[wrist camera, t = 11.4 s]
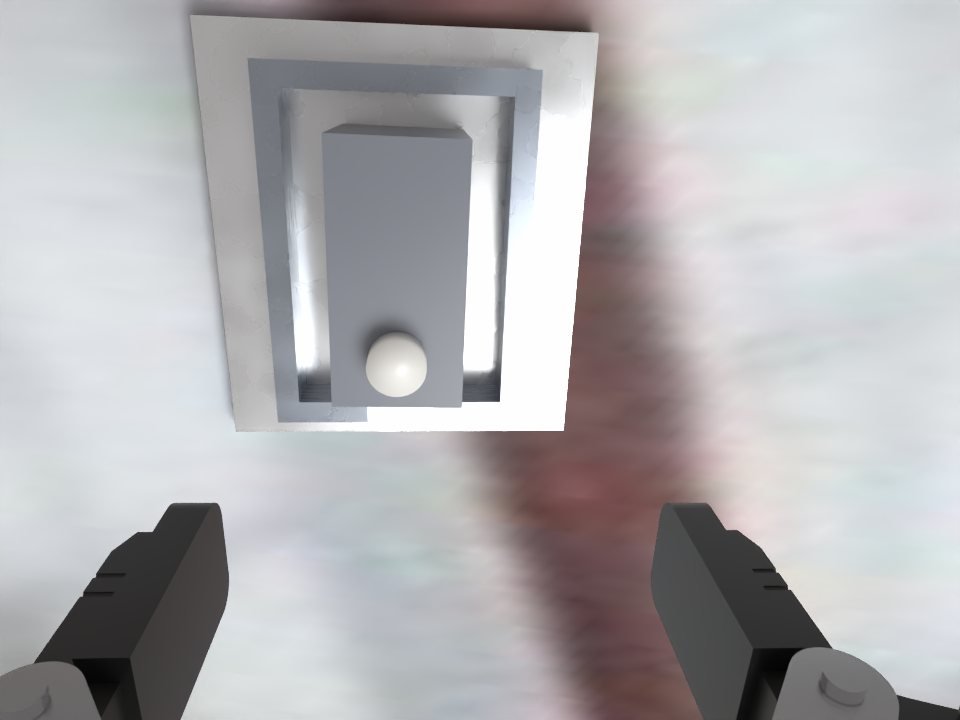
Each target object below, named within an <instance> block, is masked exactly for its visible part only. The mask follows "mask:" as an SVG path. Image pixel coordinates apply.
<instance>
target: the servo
mask: <svg viewBox="0 0 960 720" xmlns="http://www.w3.org/2000/svg"><path fill="white" fill-rule="evenodd" d="M472 143H473V139H472V138H471V137H470V136H469V135H468V134H467V133H466V132H465V130H464V129H447V128H425V127H402V126H380V125H357V124H341V125H338V126H336V127H334V128H332V129H329V130H327V131H325V132H322V159H323V186H324V212H325V238H326V265H327V291H328V318H329V344H330V371H331V397H332V407H419V408H462V391H463V367H464V342H465V317H466V292H467V267H468V243H469V218H470V193H471V168H472Z"/></svg>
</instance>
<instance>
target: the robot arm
mask: <svg viewBox="0 0 960 720" xmlns="http://www.w3.org/2000/svg"><path fill="white" fill-rule="evenodd" d="M228 589H229V572H228V564H227V555H226V547H225V539H224V530H223V522H222V514H221V509H220V507H219V505H218V504H217V503H173V504H171V505H170V506H169V507H168V509H167V510H166V512H165V513H164V515H163V516H162V518H161V520H160V521H159V523H158V524H157V526H156V527H155V529H154V531H153V532H137V533H136V534H134V535H133V536H132V537H130V538H129V539H128V540H126V541H125V542H124V543H122V544H121V545H120V546H118V547H117V548H116V549H114V550H113V551H112V552H111V553H110V555H109V556H108V557H107V559H106V560H105V562H104V563H103V565H102V566H101V567H100V569H99V570H98V572H97V573H96V578H93V579H92V580H91V582H90V583H89V585H88V586H87V588H86V589H85V590H84V592H83V597H80V598H79V599H78V600H77V602H76V603H75V605H74V606H73V608H72V609H71V610H70V612H69V613H68V615H67V616H66V618H65V619H64V621H63V622H62V623H61V625H60V626H59V628H58V629H57V631H56V632H55V633H54V635H53V636H52V638H51V639H50V641H49V642H48V643H47V645H46V646H45V648H44V649H43V651H42V652H41V653H40V655H39V656H38V658H37V659H36V661H35V662H34V664H31V665H27V666H24V667H21V668H18V669H16V670H13V671H11V672H9V673H7V674H5V675H3V676H1V677H0V720H181V717H182V715H183V712H184V710H185V707H186V705H187V702H188V700H189V697H190V695H191V692H192V690H193V687H194V685H195V682H196V680H197V677H198V675H199V672H200V670H201V667H202V665H203V662H204V660H205V657H206V655H207V652H208V650H209V647H210V645H211V643H212V640H213V638H214V635H215V633H216V630H217V628H218V625H219V623H220V620H221V618H222V615H223V613H224V610H225V606H226V602H227V597H228ZM651 589H652V596H653V600H654V604H655V607H656V609H657V612H658V614H659V616H660V619H661V621H662V623H663V626H664V628H665V630H666V633H667V635H668V637H669V640H670V642H671V645H672V647H673V649H674V652H675V654H676V656H677V659H678V661H679V663H680V666H681V668H682V670H683V673H684V675H685V677H686V680H687V682H688V684H689V687H690V689H691V691H692V694H693V696H694V698H695V701H696V703H697V705H698V708H699V710H700V712H701V715H702V717H703V719H704V720H960V707H959V710H956V709H952V708H948V707H944V706H939V705H935V704H931V703H927V702H922V701H918V700H914V699H910V698H906V697H902V696H899V695H896V693H895V691H894V689H893V688H892V686H891V685H890V684H889V682H888V681H887V680H886V679H885V678H884V677H883V676H882V675H881V674H880V673H879V672H878V671H877V670H875V669H874V668H873V667H871V666H870V665H868V664H867V663H865V662H864V661H862V660H860V659H858V658H856V657H854V656H852V655H850V654H847V653H845V652H842V651H839V650H835V649H833V648H832V647H831V646H830V644H829V643H828V641H827V640H826V639H825V637H824V636H823V634H822V633H821V632H820V630H819V629H818V627H817V626H816V625H815V623H814V622H813V620H812V619H811V618H810V616H809V615H808V613H807V612H806V611H805V609H804V608H803V606H802V605H801V604H800V602H799V601H798V599H797V598H796V596H795V595H794V594H793V592H792V591H791V590H788V585H787V584H786V582H785V581H784V580H783V578H782V577H781V575H780V574H779V573H776V568H775V567H774V566H773V564H772V563H771V561H770V560H769V559H768V557H767V556H766V554H765V553H764V552H763V550H762V549H761V548H760V547H759V546H758V545H756V544H755V543H754V542H752V541H751V540H750V539H748V538H747V537H746V536H744V535H743V534H742V533H740V532H739V531H738V530H726V529H725V528H724V526H723V525H722V523H721V522H720V520H719V519H718V517H717V516H716V514H715V513H714V511H713V510H712V508H711V507H710V506H709V505H708V504H707V503H666V504H664V506H663V508H662V510H661V514H660V520H659V527H658V533H657V539H656V545H655V551H654V558H653V564H652V571H651Z"/></svg>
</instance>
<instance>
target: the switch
mask: <svg viewBox="0 0 960 720" xmlns="http://www.w3.org/2000/svg"><path fill="white" fill-rule="evenodd" d="M190 22H191V31H192V40H193V49H194V58H195V67H196V76H197V85H198V94H199V103H200V112H201V121H202V131H203V140H204V149H205V158H206V167H207V176H208V185H209V194H210V203H211V212H212V221H213V230H214V239H215V248H216V257H217V266H218V275H219V284H220V293H221V302H222V312H223V321H224V330H225V339H226V348H227V357H228V366H229V375H230V384H231V393H232V402H233V411H234V420H235V429H236V432H256V431H506V430H563V428H564V416H565V405H566V394H567V383H568V372H569V361H570V350H571V338H572V327H573V316H574V305H575V294H576V283H577V272H578V260H579V249H580V238H581V227H582V216H583V205H584V193H585V182H586V171H587V160H588V149H589V138H590V127H591V115H592V104H593V93H594V82H595V71H596V60H597V49H598V37H599V33H587V32H565V31H542V30H520V29H498V28H475V27H453V26H430V25H408V24H386V23H363V22H341V21H318V20H296V19H273V18H251V17H229V16H206V15H190ZM341 124H357V125H380V126H402V127H425V128H447V129H464V130H465V132H466V133H467V134H468V135H469V136H470V137H471V138H472V139H473V143H472V168H471V193H470V218H469V243H468V267H467V292H466V317H465V342H464V367H463V391H462V408H419V407H332V397H331V371H330V344H329V318H328V291H327V265H326V238H325V212H324V186H323V159H322V132H325V131H327V130H329V129H332V128H334V127H336V126H338V125H341Z"/></svg>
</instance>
